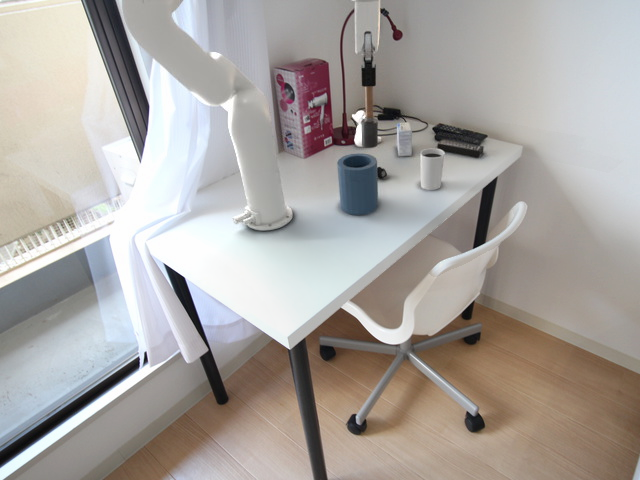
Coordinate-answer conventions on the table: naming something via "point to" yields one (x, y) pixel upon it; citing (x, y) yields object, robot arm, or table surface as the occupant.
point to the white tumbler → (431, 168)
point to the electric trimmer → (381, 173)
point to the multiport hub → (461, 148)
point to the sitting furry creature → (358, 118)
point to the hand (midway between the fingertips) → (368, 83)
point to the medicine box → (404, 139)
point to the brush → (369, 122)
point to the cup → (358, 183)
